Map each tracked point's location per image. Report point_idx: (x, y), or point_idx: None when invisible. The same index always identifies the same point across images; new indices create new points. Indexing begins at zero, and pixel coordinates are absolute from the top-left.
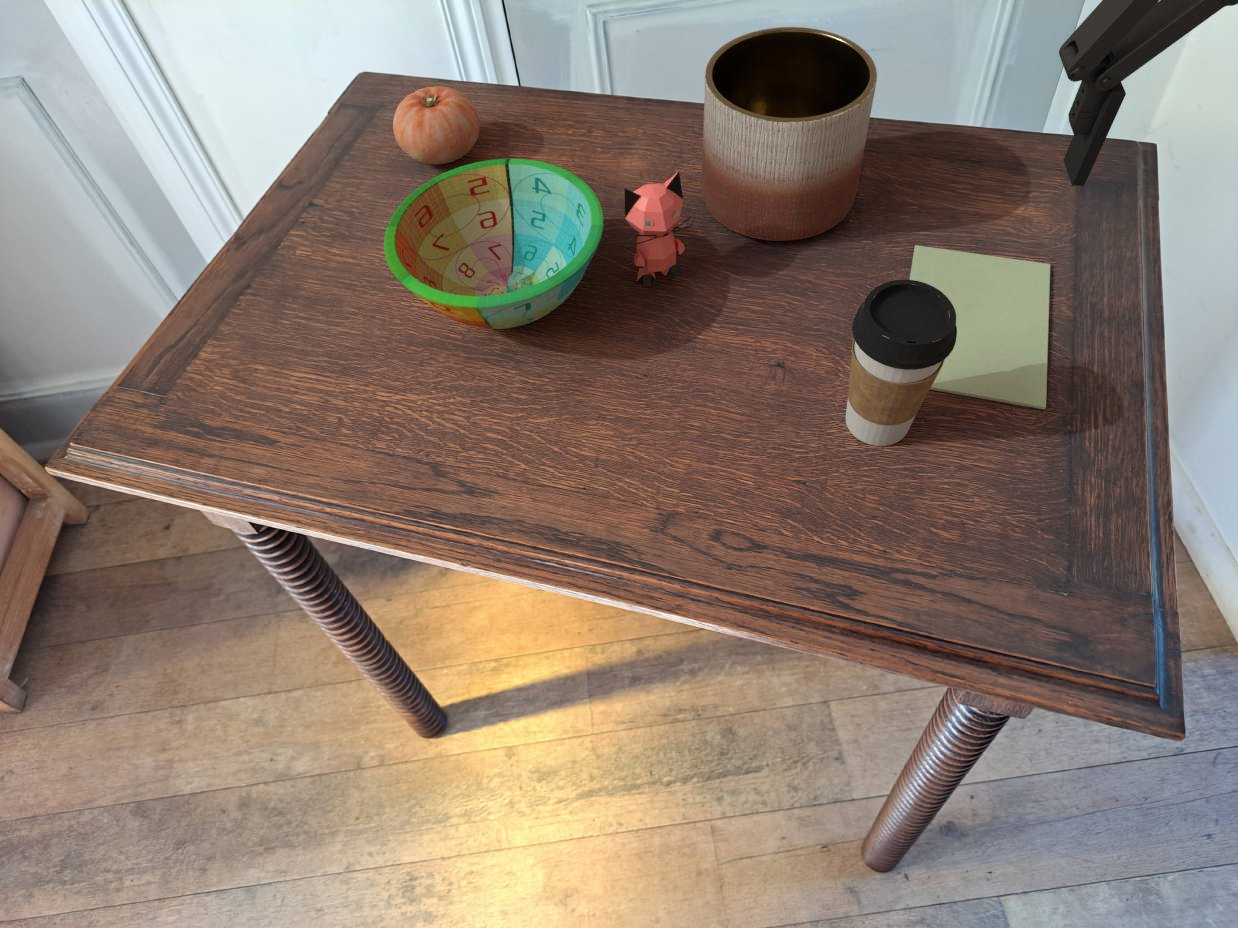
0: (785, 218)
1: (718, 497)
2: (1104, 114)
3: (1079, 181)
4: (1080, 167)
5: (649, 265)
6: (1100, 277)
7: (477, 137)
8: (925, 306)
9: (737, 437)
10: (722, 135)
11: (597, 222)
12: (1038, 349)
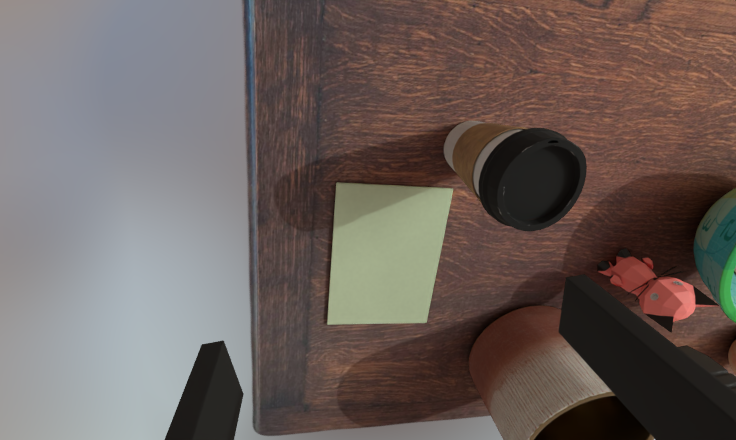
0: (538, 321)
1: (600, 44)
2: (722, 385)
3: (582, 280)
4: (610, 296)
5: (637, 260)
6: (288, 320)
7: (733, 355)
8: (515, 203)
9: (577, 111)
10: None
11: (729, 272)
12: (340, 240)
